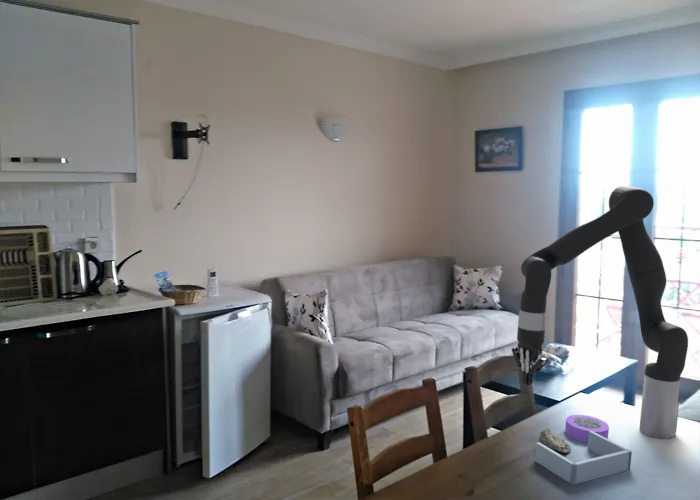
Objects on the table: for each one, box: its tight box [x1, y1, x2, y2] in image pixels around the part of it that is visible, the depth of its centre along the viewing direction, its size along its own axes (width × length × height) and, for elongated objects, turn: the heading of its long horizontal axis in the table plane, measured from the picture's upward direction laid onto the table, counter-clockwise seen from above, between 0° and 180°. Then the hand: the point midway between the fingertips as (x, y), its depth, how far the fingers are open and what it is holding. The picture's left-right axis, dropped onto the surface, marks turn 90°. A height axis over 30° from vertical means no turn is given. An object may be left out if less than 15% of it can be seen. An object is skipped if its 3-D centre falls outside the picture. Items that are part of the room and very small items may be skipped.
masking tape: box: [564, 414, 610, 444], centre depth 172 cm, size 12×12×4 cm
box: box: [534, 431, 633, 486], centre depth 153 cm, size 20×13×5 cm, turn 115°
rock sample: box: [537, 427, 572, 454], centre depth 162 cm, size 10×8×9 cm
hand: (527, 384), depth 171 cm, fingers closed
